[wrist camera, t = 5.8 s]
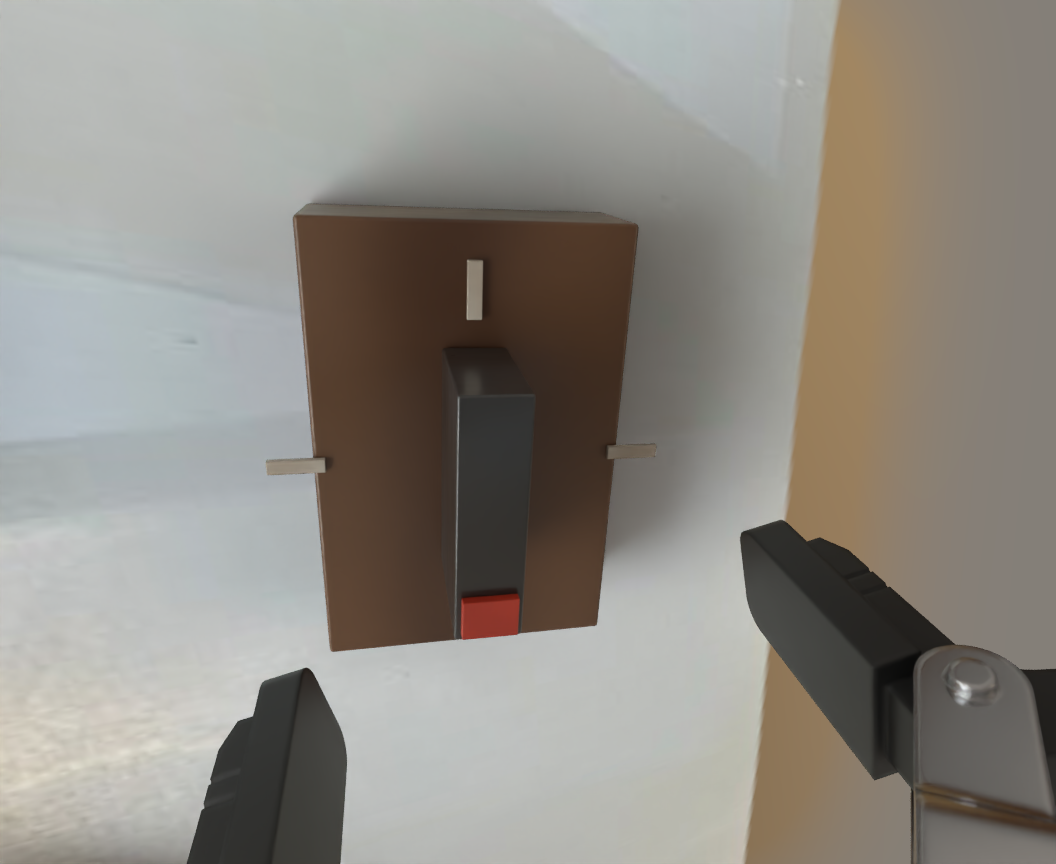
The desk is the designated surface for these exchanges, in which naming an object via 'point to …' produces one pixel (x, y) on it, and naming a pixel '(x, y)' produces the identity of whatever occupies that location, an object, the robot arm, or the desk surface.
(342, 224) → the panel
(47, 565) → the desk surface
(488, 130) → the desk surface
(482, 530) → the red-tipped grey bar
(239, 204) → the desk surface
